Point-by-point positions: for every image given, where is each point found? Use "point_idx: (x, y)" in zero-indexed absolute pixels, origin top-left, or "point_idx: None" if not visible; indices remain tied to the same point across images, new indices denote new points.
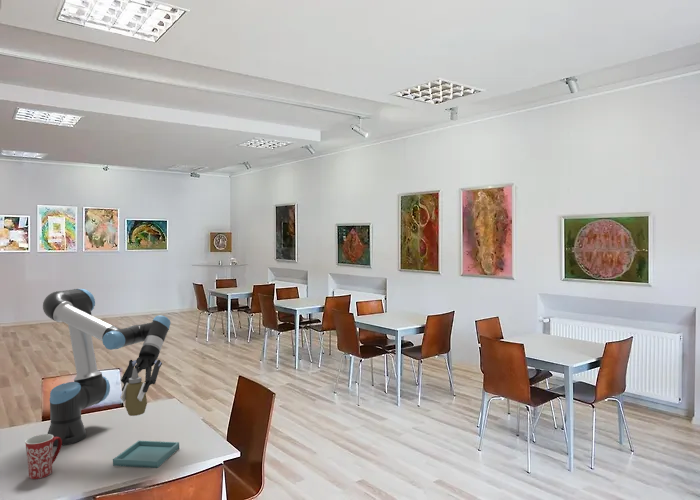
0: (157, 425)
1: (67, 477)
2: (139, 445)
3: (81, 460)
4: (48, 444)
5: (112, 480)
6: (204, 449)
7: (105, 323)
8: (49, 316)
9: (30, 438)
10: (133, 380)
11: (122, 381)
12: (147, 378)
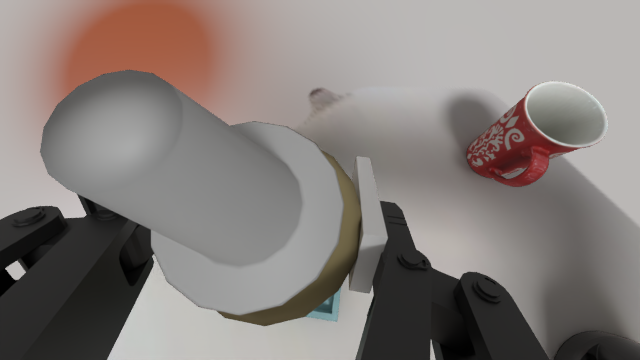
0: None
1: (418, 145)
2: (330, 309)
3: (444, 226)
4: (516, 111)
5: (318, 131)
6: (145, 285)
7: None
8: None
9: (602, 121)
10: (247, 128)
11: (464, 278)
12: (69, 244)
